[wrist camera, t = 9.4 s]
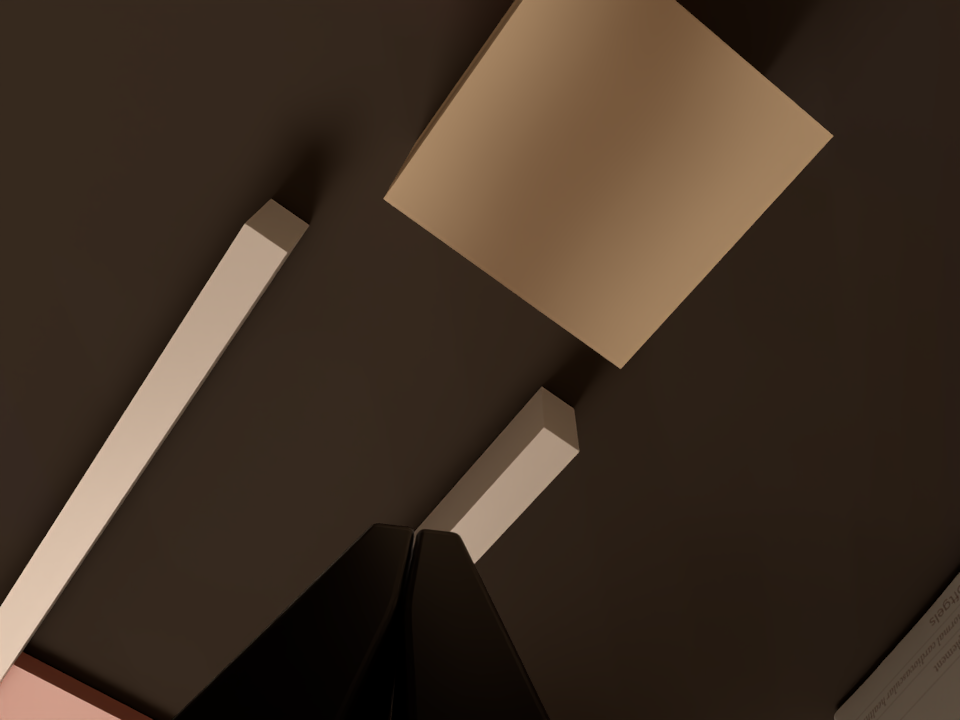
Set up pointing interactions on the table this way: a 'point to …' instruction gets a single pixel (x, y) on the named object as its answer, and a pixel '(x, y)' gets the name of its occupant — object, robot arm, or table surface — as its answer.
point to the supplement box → (916, 671)
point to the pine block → (603, 161)
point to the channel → (152, 415)
